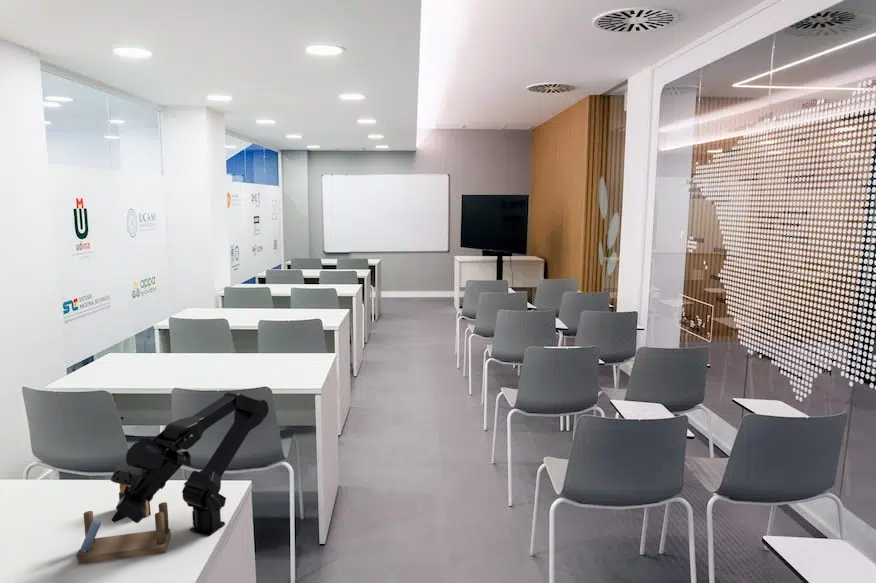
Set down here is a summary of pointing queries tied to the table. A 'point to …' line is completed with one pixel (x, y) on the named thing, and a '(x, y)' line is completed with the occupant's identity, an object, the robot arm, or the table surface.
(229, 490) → the table surface
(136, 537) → the stool
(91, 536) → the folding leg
